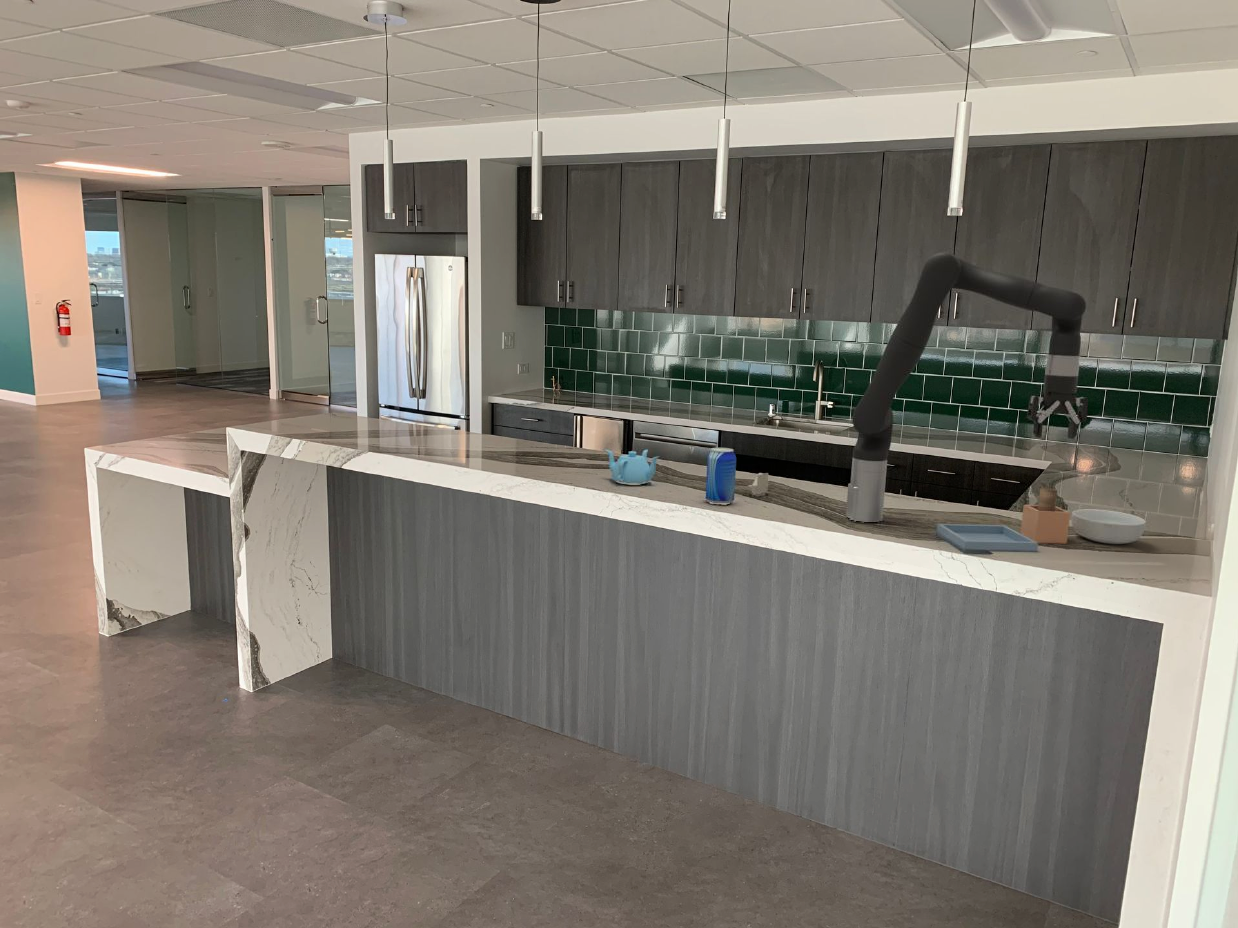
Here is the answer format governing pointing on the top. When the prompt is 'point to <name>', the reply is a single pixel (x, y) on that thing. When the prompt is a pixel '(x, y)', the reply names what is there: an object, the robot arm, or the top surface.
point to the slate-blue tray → (985, 538)
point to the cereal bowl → (1107, 526)
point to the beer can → (721, 475)
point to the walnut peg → (1047, 499)
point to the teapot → (632, 467)
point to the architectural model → (760, 484)
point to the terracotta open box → (1045, 524)
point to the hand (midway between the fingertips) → (1054, 437)
